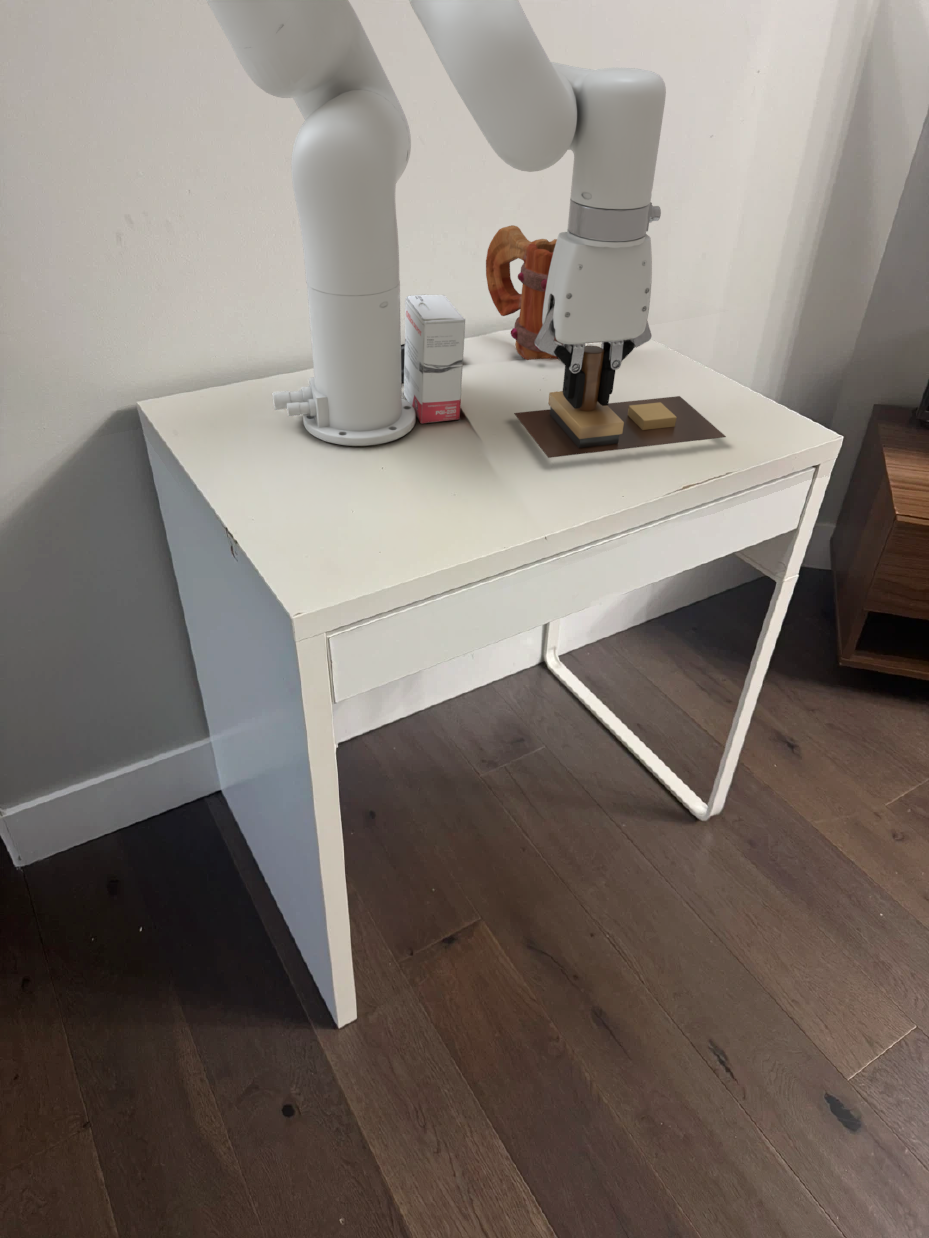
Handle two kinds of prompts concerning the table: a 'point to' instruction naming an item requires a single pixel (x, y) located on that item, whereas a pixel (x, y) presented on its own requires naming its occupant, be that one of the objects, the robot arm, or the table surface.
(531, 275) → the mug
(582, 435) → the wooden rubber stamp
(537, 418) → the board
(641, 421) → the tan rectangular block
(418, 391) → the ink box
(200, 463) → the table surface
